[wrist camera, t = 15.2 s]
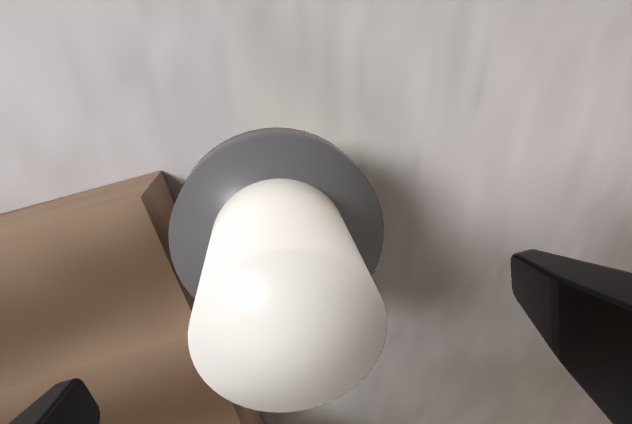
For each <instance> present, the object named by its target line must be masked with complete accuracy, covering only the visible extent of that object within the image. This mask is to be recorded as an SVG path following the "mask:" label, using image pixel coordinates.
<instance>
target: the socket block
mask: <svg viewBox="0 0 632 424" xmlns="http://www.w3.org/2000/svg"><path fill="white" fill-rule="evenodd" d="M174 204H175V203H174V201H173V198H172V196H171V193H170V191H169V188H168V186H167V184H166V181H165V179H164V176H163V174H162V171H158V172H154V173H150V174H147V175H143V176H139V177H136V178H132V179H128V180H125V181H121V182H117V183H114V184H110V185H106V186H103V187H99V188H95V189H91V190H88V191H84V192H80V193H77V194H73V195H69V196H66V197H62V198H58V199H55V200H51V201H47V202H44V203H40V204H36V205H32V206H29V207H25V208H21V209H18V210H14V211H10V212H7V213H3V214H0V424H8V423H10V422H11V421H12V420H13V419H14V418H16V417H17V416H18V415H19V414H20V413H22V412H23V411H24V410H25V409H26V408H28V407H29V406H30V405H31V404H32V403H33V402H35V401H36V400H37V399H38V398H39V397H41V396H42V395H43V394H44V393H45V392H47V391H48V390H49V389H50V388H51V387H53V386H54V385H55V384H57V383H60V382H63V381H67V380H70V379H74V378H79V379H81V380H82V381H83V382H84V383H85V385H86V387H87V388H88V390H89V391H90V393H91V395H92V396H93V398H94V399H95V401H96V403H97V404H98V406H99V409H100V423H99V424H265V422H264V420H263V417H262V415H261V412H260V411H257V410H253V409H249V408H245V407H243V406H240V405H237V404H235V403H233V402H231V401H229V400H227V399H225V398H223V397H222V396H221V395H219V394H218V393H216V392H215V391H214V390H213V389H212V388H211V387H210V386H209V385H207V384H206V382H205V381H204V380H203V379H202V377H201V376H200V375H199V373H198V371H197V370H196V368H195V366H194V364H193V361H192V359H191V356H190V352H189V347H188V328H189V321H190V317H191V313H192V309H193V305H194V301H195V299H194V298H193V297H192V296H191V295H190V293H189V292H188V291H187V289H186V288H185V287H184V285H183V284H182V282H181V280H180V278H179V277H178V275H177V273H176V271H175V268H174V265H173V262H172V259H171V254H170V249H169V236H168V233H169V223H170V218H171V214H172V210H173V206H174Z"/></svg>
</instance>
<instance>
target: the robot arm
mask: <svg viewBox="0 0 632 424" xmlns="http://www.w3.org/2000/svg"><path fill="white" fill-rule="evenodd" d="M511 278H512V289H513V293H514V295H515V297H516V299H517V301H518V302H519V304H520V305H521V307H522V308H523V309H524V311H525V312H526V314H527V315H528V317H529V318H530V320H531V321H532V322H533V324H534V325H535V327H536V328H537V330H538V331H539V333H540V334H541V335H542V337H543V338H544V340H545V341H546V343H547V344H548V346H549V347H550V349H551V350H552V351H553V353H554V354H555V355H556V357H557V358H558V359H559V361H560V362H561V363H562V364H563V366H564V367H565V368H566V369H567V371H568V372H569V373H570V374H571V375H572V376H573V378H574V379H575V380H576V381H577V382H578V383H579V385H580V386H581V387H582V388H583V389H584V390H585V392H586V393H587V394H588V395H589V396H590V397H591V399H592V400H593V401H594V402H595V403H596V404H597V406H598V407H599V408H600V409H601V410H602V411H603V413H604V414H605V415H606V416H607V417H608V418H609V420H610V421H611V422H612V423H613V424H632V273H630V272H626V271H622V270H618V269H613V268H609V267H605V266H601V265H597V264H593V263H588V262H584V261H580V260H576V259H572V258H568V257H563V256H559V255H555V254H551V253H547V252H543V251H538V250H534V249H529V250H525V251H522V252H518V253H515V254H513V255H512V257H511ZM99 423H100V409H99V406H98V404H97V403H96V401H95V399H94V398H93V396H92V395H91V393H90V391H89V390H88V388H87V387H86V385H85V383H84V382H83V381H82V380H81V379H79V378H74V379H70V380H67V381H63V382H60V383H57V384H55V385H54V386H53V387H51V388H50V389H49V390H48V391H47V392H45V393H44V394H43V395H42V396H41V397H39V398H38V399H37V400H36V401H35V402H33V403H32V404H31V405H30V406H29V407H28V408H26V409H25V410H24V411H23V412H22V413H20V414H19V415H18V416H17V417H16V418H14V419H13V420H12V421H11V422H10V423H8V424H99Z"/></svg>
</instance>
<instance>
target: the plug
mask: <svg viewBox="0 0 632 424" xmlns="http://www.w3.org/2000/svg"><path fill="white" fill-rule="evenodd" d="M383 229H384V226H383V218H382V212H381V208H380V205H379V201H378V199H377V197H376V194H375V192H374V190H373V188H372V186H371V185H370V183H369V182H368V180H367V178H366V177H365V176H364V175H363V174H362V172H361V171H360V170H359V169H358V168H357V166H356V165H355V164H354V163H353V162H352V160H351V159H350V158H349V157H348V156H347V155H346V154H345V153H344V152H342V151H341V150H340V149H339V148H338V147H336V146H335V145H333V144H332V143H330V142H329V141H327V140H325V139H323V138H321V137H319V136H317V135H314V134H311V133H308V132H305V131H301V130H296V129H291V128H262V129H257V130H252V131H248V132H245V133H242V134H239V135H236V136H234V137H232V138H230V139H228V140H226V141H224V142H222V143H221V144H219V145H218V146H216V147H215V148H213V149H212V150H211V151H210V152H209V153H208V154H206V155H205V156H204V157H203V158H202V159H201V160H200V161H199V163H198V164H197V165H196V166H195V167H194V169H193V170H192V172H191V173H190V175H189V177H188V178H187V180H186V182H185V183H184V185H183V187H182V189H181V191H180V193H179V195H178V197H177V199H176V202H175V204H174V206H173V210H172V214H171V218H170V223H169V233H168V236H169V249H170V254H171V259H172V262H173V265H174V268H175V271H176V273H177V275H178V277H179V278H180V280H181V282H182V284H183V285H184V287H185V288H186V289H187V291H188V292H189V293H190V295H191V296H192V297H193V298H194V299H195V301H194V305H193V309H192V313H191V317H190V321H189V328H188V347H189V352H190V356H191V359H192V361H193V364H194V366H195V368H196V370H197V371H198V373H199V375H200V376H201V377H202V379H203V380H204V381H205V382H206V384H207V385H209V386H210V387H211V388H212V389H213V390H214V391H215V392H216V393H218V394H219V395H221V396H222V397H223V398H225V399H227V400H229V401H231V402H233V403H235V404H237V405H240V406H243V407H245V408H249V409H253V410H257V411H264V412H275V413H284V412H296V411H303V410H307V409H311V408H315V407H318V406H321V405H324V404H326V403H328V402H331V401H333V400H335V399H337V398H339V397H340V396H342V395H344V394H345V393H347V392H348V391H350V390H351V389H352V388H354V387H355V386H356V385H357V384H358V383H359V382H360V381H362V380H363V379H364V378H365V376H366V375H367V374H368V373H369V372H370V371H371V369H372V368H373V366H374V365H375V363H376V362H377V360H378V358H379V356H380V354H381V352H382V349H383V346H384V343H385V339H386V333H387V315H386V309H385V306H384V302H383V299H382V297H381V295H380V293H379V291H378V289H377V287H376V285H375V283H374V281H373V279H372V277H371V276H372V274H373V272H374V270H375V268H376V265H377V263H378V260H379V257H380V254H381V250H382V244H383Z"/></svg>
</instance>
